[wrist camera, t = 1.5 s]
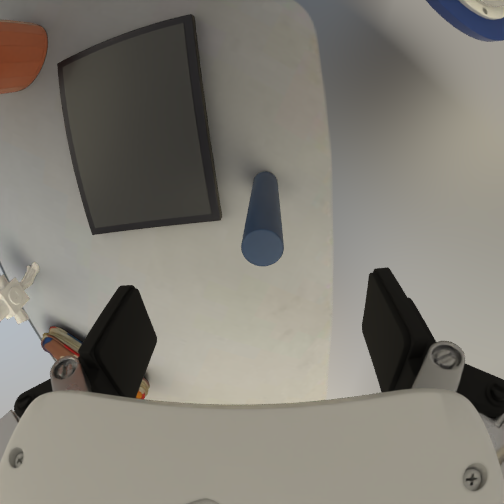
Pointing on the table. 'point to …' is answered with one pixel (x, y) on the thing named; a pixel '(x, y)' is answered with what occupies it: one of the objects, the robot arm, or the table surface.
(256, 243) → the stylus
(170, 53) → the tablet
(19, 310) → the toy robot
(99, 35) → the table surface
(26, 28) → the pen cup
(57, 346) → the pencil case
